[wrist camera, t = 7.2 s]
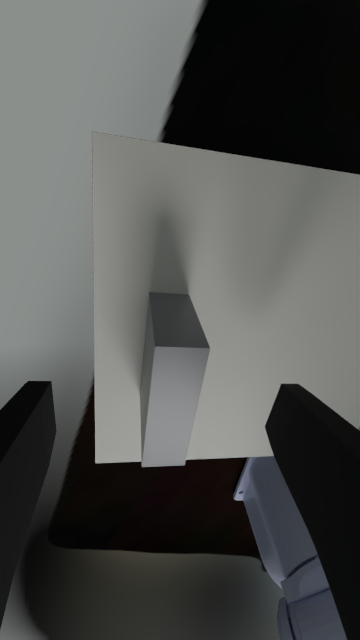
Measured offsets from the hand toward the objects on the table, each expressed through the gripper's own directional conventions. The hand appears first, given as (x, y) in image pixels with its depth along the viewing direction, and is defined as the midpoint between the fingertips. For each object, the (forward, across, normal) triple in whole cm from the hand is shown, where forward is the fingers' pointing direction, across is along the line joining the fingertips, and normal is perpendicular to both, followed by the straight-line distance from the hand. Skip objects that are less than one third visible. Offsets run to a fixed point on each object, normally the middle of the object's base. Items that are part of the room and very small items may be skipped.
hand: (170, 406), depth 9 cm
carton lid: (+4, -5, 0) cm, 6 cm away
